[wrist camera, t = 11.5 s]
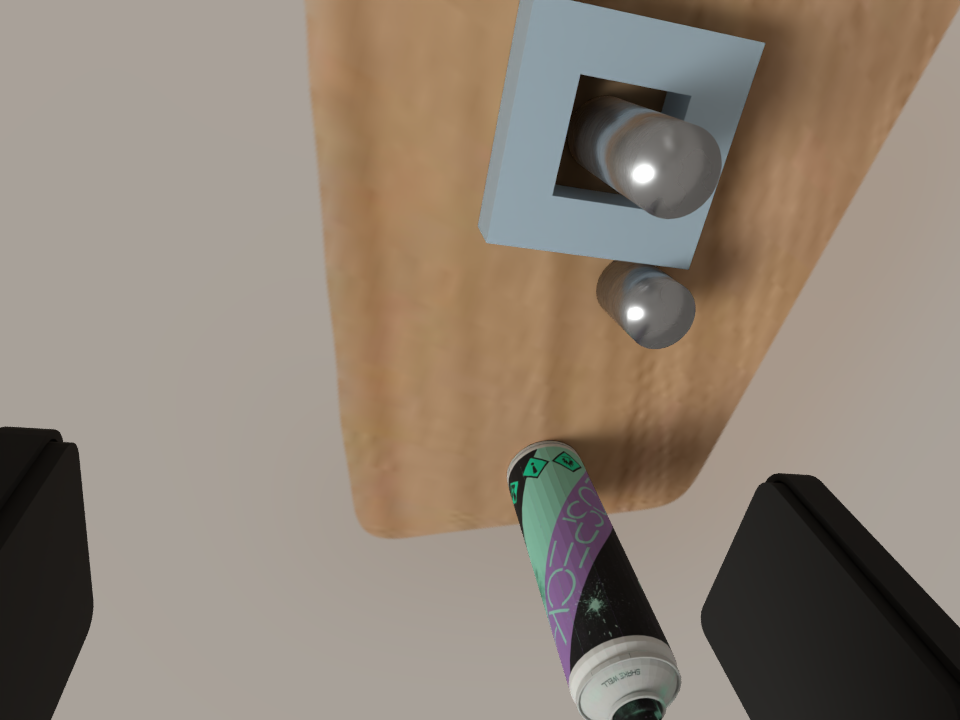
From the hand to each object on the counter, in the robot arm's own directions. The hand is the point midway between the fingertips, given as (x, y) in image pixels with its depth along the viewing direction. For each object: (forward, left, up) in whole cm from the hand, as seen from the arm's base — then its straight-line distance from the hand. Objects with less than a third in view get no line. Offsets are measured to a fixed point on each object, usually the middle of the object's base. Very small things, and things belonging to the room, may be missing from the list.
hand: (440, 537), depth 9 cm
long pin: (-2, +12, -30) cm, 33 cm away
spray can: (+21, +14, -31) cm, 40 cm away
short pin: (+6, +16, -30) cm, 35 cm away
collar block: (-2, +12, -30) cm, 33 cm away
